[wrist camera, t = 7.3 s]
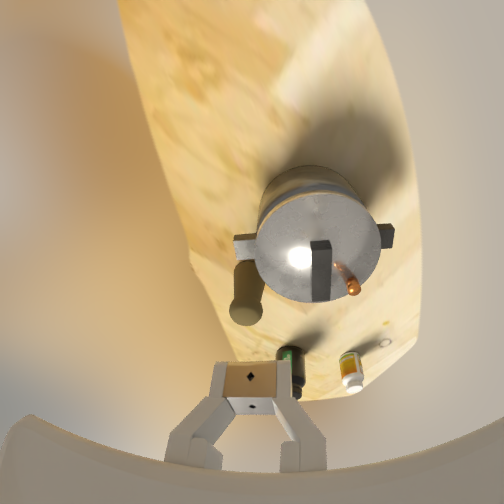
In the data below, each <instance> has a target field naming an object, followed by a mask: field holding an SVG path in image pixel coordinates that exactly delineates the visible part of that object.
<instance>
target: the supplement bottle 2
mask: <svg viewBox="0 0 504 504" xmlns="http://www.w3.org/2000/svg"><path fill="white" fill-rule="evenodd" d="M339 363H340V369H341V376H342V382H343V384H344V385H345V386H346V391H347V392H348V393H357V392H359V391H361V390H362V389H363V384H362V381H363V379H364V374H363V369H362V364H361V360H360V355H359V354H358V353H357V352H348V353H345V354H343V355H342V356H341V357H340V359H339Z"/></svg>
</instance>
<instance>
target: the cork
mask: <svg viewBox="0 0 504 504" xmlns="http://www.w3.org/2000/svg"><path fill="white" fill-rule="evenodd" d="M264 286H265V282H264V281H263V279H262V278H261V276H260V274H259V272H258V270H257V267H256V263H255V261H244V262H241V263H239V264H238V265H237V266H236V268H235V269H234V300H233V301H232V303H231V304H230V309H229V313H230V316H231V318H232V320H233V321H234V322H235V323H237V324H239V325H242V326H251V325H254V324H256V323H257V322H258V321H259V320H260V319H261V317H262V313H263V309H262V305H261V303H260V301H261V297H262V293H263V290H264Z"/></svg>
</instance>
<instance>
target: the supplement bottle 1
mask: <svg viewBox="0 0 504 504" xmlns="http://www.w3.org/2000/svg"><path fill="white" fill-rule="evenodd" d="M276 360H277V361H278V360H290V361H291V375H292V397H295V398H296V400H298V399H300V398H301V396H302V387H303V386H304V385H305V383H306V375H305V358H304V352H303V350H302V349H300V348H298V347H295V346H287V347H283V348H281V349H279V350H278V351H277V353H276Z"/></svg>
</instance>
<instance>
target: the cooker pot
mask: <svg viewBox="0 0 504 504" xmlns="http://www.w3.org/2000/svg"><path fill="white" fill-rule="evenodd" d="M313 190H330V191H336V192H340V193H343V194H345V195H348V196H350V197H352V198H354V199H355V200H357V201H358V202H359V203H361V204H362V205H363V206H364V204H363V203H362V201H361V200H360V198H359V197H358V195H357V194H356V192H355V191H354V190H353V188H352V187H351V185H350V184H349V183H348V181H347V180H346V179H345V178H344V177H342V176H341V175H340V174H338V173H337V172H335V171H333V170H331V169H328V168H325V167H321V166H300V167H296V168H292V169H290V170H288V171H286V172H284V173H282V174H280V175H279V176H278V177H276V178H275V179H274V180H273V181H272V182H271V183H270V184H269V186H268V187H267V188H266V190H265V192H264V194H263V196H262V199H261V202H260V206H259V215H258V224H257V232H258V230H259V227H260V225H261V223H262V222H263V220H264V218H265V217H266V216H267V215H268V213H269V212H270V211H271V210H272V209H273V208H274V207H275V206H277V205H278V204H279V203H281V202H282V201H284V200H286V199H287V198H289V197H291V196H294V195H296V194H299V193H303V192H306V191H313ZM364 207H365V206H364ZM365 208H366V207H365ZM376 225H377V227H378V229H379V233H380V237H381V249H387V248H392V245H393V238H394V231H395V229H394V227H393V226H392V224H391V223H390V224H376ZM257 232H256V233H252V234H241V235H235V236H234V240H233V242H234V247H235V252H236V257H237V260H245V259H255V255H254V252H255V241H256V236H257Z"/></svg>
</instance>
